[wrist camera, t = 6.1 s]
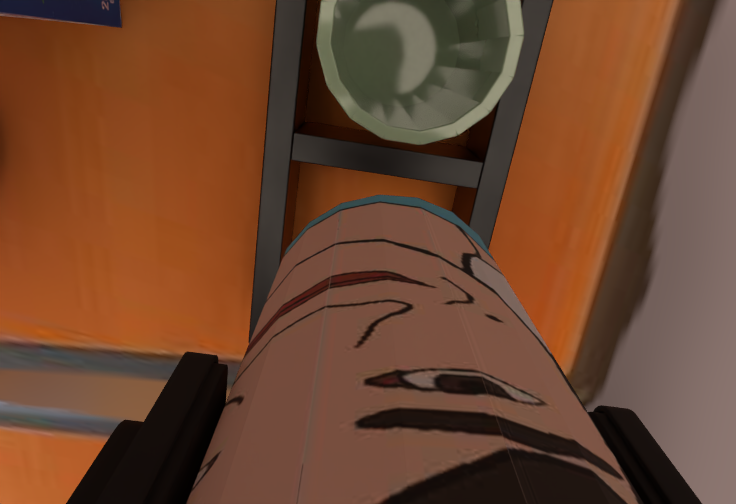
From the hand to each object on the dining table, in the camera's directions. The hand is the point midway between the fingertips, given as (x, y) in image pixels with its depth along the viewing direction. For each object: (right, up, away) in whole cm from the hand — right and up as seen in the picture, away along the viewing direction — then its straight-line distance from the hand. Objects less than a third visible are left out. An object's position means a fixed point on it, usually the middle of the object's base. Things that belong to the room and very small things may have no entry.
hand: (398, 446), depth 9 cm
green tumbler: (+1, +14, +16) cm, 22 cm away
